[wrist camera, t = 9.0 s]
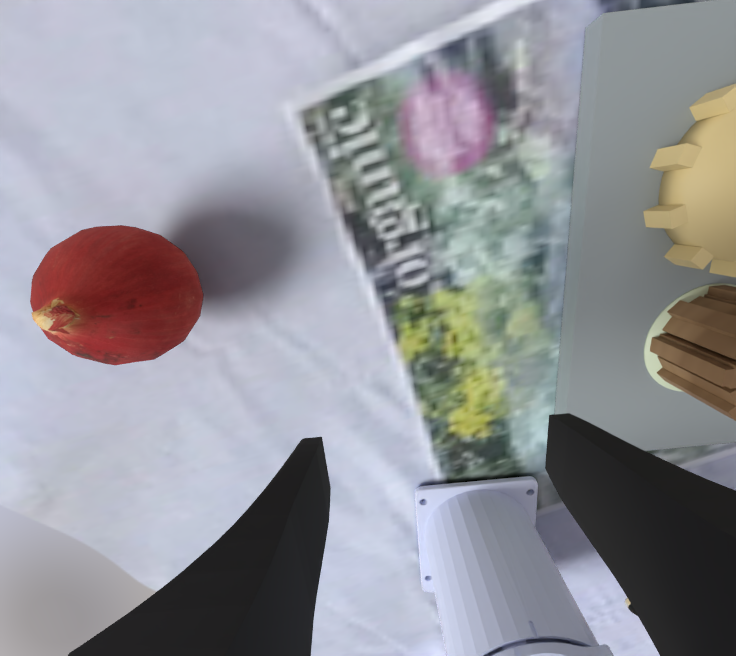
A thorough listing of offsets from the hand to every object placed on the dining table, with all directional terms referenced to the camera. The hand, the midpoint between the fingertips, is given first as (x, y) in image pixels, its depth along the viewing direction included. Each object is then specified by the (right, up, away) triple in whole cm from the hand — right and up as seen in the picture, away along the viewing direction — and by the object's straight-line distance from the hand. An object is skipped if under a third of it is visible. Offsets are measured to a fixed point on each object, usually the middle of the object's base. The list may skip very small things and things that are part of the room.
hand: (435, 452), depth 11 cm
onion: (-13, +7, +8) cm, 16 cm away
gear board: (+15, +7, +8) cm, 19 cm away
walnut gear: (+16, +3, +8) cm, 18 cm away
